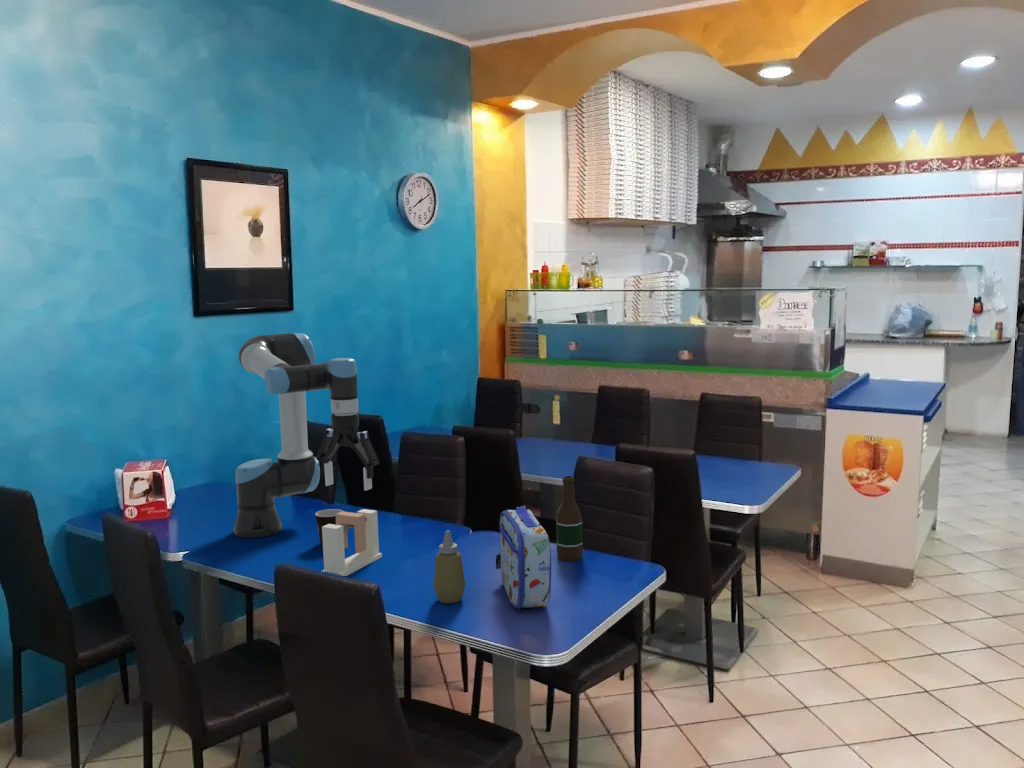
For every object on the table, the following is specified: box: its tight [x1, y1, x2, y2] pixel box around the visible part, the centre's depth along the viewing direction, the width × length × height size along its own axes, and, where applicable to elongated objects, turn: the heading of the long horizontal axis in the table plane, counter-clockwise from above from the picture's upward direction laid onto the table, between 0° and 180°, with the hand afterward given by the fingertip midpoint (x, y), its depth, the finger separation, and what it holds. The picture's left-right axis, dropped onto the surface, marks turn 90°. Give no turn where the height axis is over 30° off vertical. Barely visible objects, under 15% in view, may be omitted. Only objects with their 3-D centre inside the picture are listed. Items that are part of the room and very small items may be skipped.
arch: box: [335, 510, 366, 554], centre depth 237 cm, size 8×3×10 cm, turn 64°
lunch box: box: [495, 505, 552, 609], centre depth 212 cm, size 28×10×22 cm, turn 12°
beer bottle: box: [555, 475, 584, 563], centre depth 239 cm, size 8×8×24 cm
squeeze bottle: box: [433, 530, 466, 604], centre depth 211 cm, size 8×8×18 cm
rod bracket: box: [321, 508, 383, 577], centre depth 238 cm, size 7×19×14 cm, turn 154°
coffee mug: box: [314, 508, 345, 548], centre depth 260 cm, size 12×9×10 cm
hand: (348, 487), depth 236 cm, fingers open, 13 cm apart
